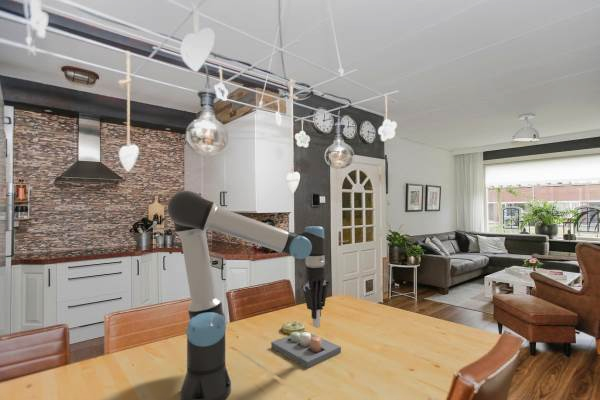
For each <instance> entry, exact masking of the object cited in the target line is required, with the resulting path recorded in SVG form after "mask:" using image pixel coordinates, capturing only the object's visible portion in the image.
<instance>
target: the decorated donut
mask: <svg viewBox="0 0 600 400" xmlns="http://www.w3.org/2000/svg"><path fill="white" fill-rule="evenodd" d="M305 328H306V327H305V325H304V324H303V323H302V322H301V321H297V320H296V321H295V320H293V321H287V322H285V323H283V324H282V325H281V331H282V333H285V334H288V335H291V333H292V332H300V331H303V330H304V331H305Z"/></svg>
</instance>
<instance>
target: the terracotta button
mask: <svg viewBox="0 0 600 400" xmlns="http://www.w3.org/2000/svg"><path fill="white" fill-rule="evenodd" d="M321 338H322V337H320V336H318V337H312V338H310V350H311V351H313V352H320V351H321V350H322V347H321Z"/></svg>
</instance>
